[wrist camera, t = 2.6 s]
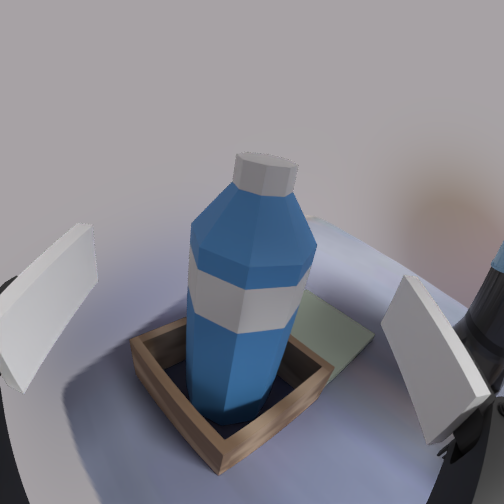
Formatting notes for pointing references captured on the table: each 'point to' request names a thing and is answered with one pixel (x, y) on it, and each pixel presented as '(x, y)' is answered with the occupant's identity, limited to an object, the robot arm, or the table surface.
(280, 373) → the wooden frame
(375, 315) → the table surface
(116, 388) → the table surface
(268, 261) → the water bottle
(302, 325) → the mat
